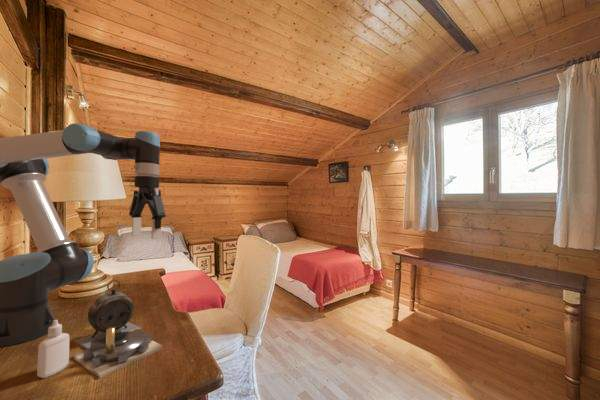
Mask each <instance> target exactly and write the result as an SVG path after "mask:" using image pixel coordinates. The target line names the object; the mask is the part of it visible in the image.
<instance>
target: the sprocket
mask: <svg viewBox="0 0 600 400" xmlns="http://www.w3.org/2000/svg"><path fill="white" fill-rule="evenodd" d="M152 340H153V335H152V333H151V332H148V333H144V332H143V329H135V330H134V331H128V332H121V331H117V332H115V327H109V328H107V329H106V337H105V338H103V339H96V340H94V341H92V342H91V344H90V349H87V350H86V349H84V352H83V360H87V359H90V358H92V365H97V366H100V365H101V364H103V363H104V362H112V361H117V360H118V363H120V362H123V361H127V360H128V357H130V356H132V355H134V354H136V353H138V352H145V351H146V350H147V349H148V347H149V342H150V341H152Z"/></svg>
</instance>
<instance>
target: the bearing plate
mask: <svg viewBox="0 0 600 400" xmlns="http://www.w3.org/2000/svg"><path fill="white" fill-rule="evenodd" d="M163 347H164V346H163V345H162V344H160V343H159V342H157V341H154V340H153V339H152V341H150V342H149V347H148V349H147V350H146V351H145V352H138V353H136V354H134V355H132V356H130V357H128V360H127V361H123V362H120V363H118V360H117V361H112V362H104V363H103V364H101V365H100V366H97V365H92V358H90V359H87V360H83V352H84V350H87V349H84V350H81V351H78V352H76V353H73V354H72V359H74V360H75V361H77V362H78V364H79V363H80V365H82V366H83V367H84V368H85V369H87V370H88V371H89V372H91V374H93V375H95V376H96V377H97V378H98V379H101V378H104V377H106V376H109V375H110V374H112V373H114V372H117V371H119V370H121V369H122V368H125V367H126V366H129V365H132V364H133V363H135V362H138V361H140V360H141V359H143V358H144V359H145V357H148V356H149V355H152V354H154V353H157V352H159V351H160V350H162V349H164V348H163ZM89 349H90V348H89Z"/></svg>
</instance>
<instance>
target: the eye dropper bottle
mask: <svg viewBox="0 0 600 400" xmlns="http://www.w3.org/2000/svg"><path fill="white" fill-rule="evenodd" d="M58 321H59V320H58V319H55V320H54V321H53V324H52V326H50V327H49V328H48V333H47V337H46V338H44V339H43V340H42V341H41V342H40V343H39V345H38V349H37V369H36V371H37V372H36V376H37V377H38V378H41V379H46V378H48V377H51V376H53V375H56V374H57V373H59V372H61V371H63V370H64V369H65V368H67V367H68V366H69V364H70V341H71V340H70V339H71V338H70V334H69V333H66V332H63V324H62V323H59V322H58Z"/></svg>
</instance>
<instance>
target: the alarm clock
mask: <svg viewBox="0 0 600 400" xmlns="http://www.w3.org/2000/svg"><path fill="white" fill-rule="evenodd" d="M115 281H116V282H118V287H117V288H112V289H110V288H109V286H110V284H111V283H113V282H115ZM120 286H121V281H120V280H118V279H113V280H110V281H109V283H107V290H108V291H110V292H108V293H105V294H103V295H101V296H99V297H98V298H97V299H96V300H95V301H94V302H93V303H92V304H91V305H90V308H89V309H88V312H87V320H88V323H89V324H90V325H91V327H92V328H93V329H94V330H95V331H94V333H93V334H94V335H93V336H92V338H94V336H95V335H96V334H97V333H98V332H102V333H106V329H107V328H109V327H115V331H116V330H118V329H120V328H122V327H123V326H124V327H125V328H127V326H126V325H125V324H127V322H130V320H131V318H132V317H133V315H134V312H135V303H134V302H133V300H132V298H130V297H129V295H127V294H125V293H123V292H120V291H117V290H118V289H119V288H120Z"/></svg>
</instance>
